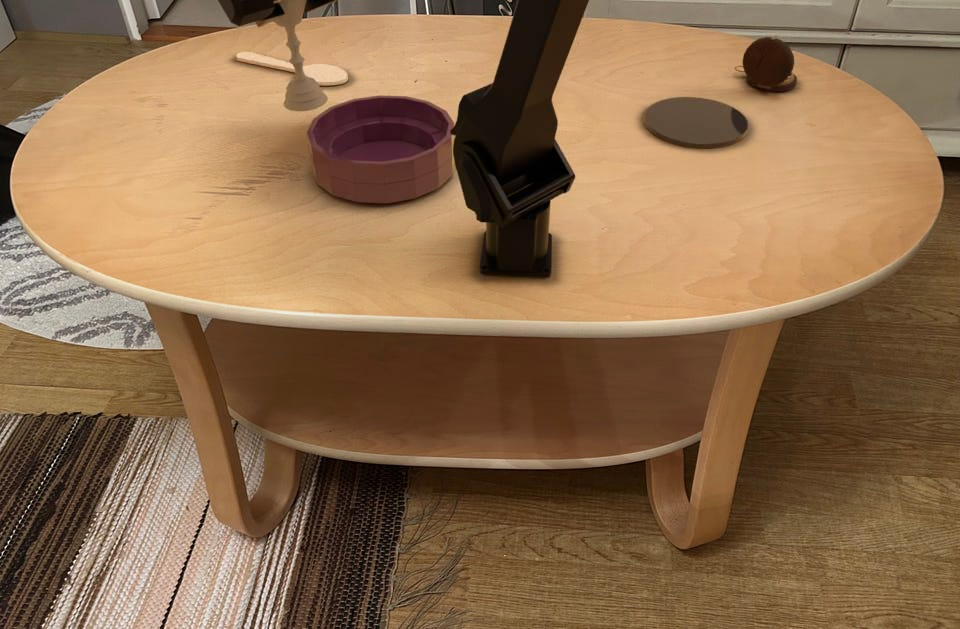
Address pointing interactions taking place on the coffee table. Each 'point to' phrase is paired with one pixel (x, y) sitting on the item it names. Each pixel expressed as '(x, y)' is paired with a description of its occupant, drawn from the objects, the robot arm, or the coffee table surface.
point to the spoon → (316, 71)
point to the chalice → (298, 63)
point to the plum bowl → (381, 148)
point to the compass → (769, 64)
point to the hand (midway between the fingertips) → (280, 15)
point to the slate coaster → (695, 122)
